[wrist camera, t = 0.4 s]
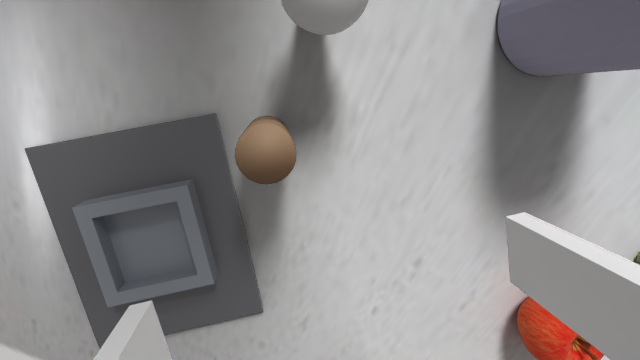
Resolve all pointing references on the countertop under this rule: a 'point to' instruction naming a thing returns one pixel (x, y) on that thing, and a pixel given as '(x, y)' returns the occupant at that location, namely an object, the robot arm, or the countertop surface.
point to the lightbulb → (324, 14)
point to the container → (570, 35)
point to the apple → (551, 335)
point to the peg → (265, 151)
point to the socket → (150, 224)
